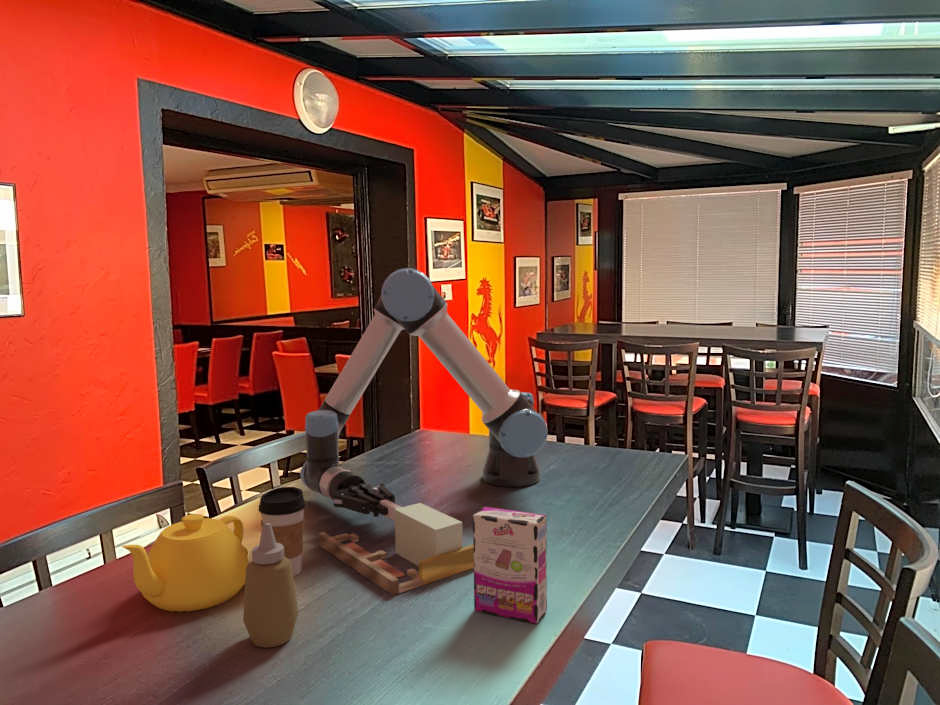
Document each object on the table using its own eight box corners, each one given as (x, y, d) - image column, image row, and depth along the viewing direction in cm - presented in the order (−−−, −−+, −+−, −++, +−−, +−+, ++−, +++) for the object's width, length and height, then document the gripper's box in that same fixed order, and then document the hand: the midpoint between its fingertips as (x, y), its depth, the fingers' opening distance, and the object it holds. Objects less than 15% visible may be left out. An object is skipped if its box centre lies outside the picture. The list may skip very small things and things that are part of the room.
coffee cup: (316, 565, 134) (314, 488, 132) (291, 584, 126) (288, 503, 124) (278, 559, 137) (275, 484, 135) (251, 578, 129) (247, 498, 127)
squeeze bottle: (310, 631, 110) (305, 519, 107) (275, 657, 102) (269, 538, 100) (269, 621, 113) (264, 512, 111) (232, 645, 106) (226, 529, 104)
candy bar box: (548, 611, 115) (548, 514, 113) (537, 625, 111) (537, 524, 109) (485, 598, 120) (484, 504, 118) (472, 611, 116) (471, 514, 114)
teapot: (165, 640, 108) (159, 554, 106) (92, 614, 116) (85, 534, 114) (281, 576, 129) (278, 504, 128) (212, 558, 138) (209, 490, 136)
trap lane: (318, 545, 144) (318, 526, 143) (400, 523, 156) (400, 505, 155) (393, 595, 121) (392, 573, 121) (482, 565, 133) (481, 544, 133)
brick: (395, 553, 140) (394, 509, 138) (421, 545, 143) (420, 502, 142) (436, 577, 129) (435, 529, 127) (463, 568, 132) (462, 522, 131)
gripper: (368, 496, 165) (426, 524, 147) (317, 509, 157) (372, 540, 139) (367, 465, 165) (426, 489, 146) (316, 476, 156) (371, 503, 138)
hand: (399, 514), depth 143 cm, fingers closed
